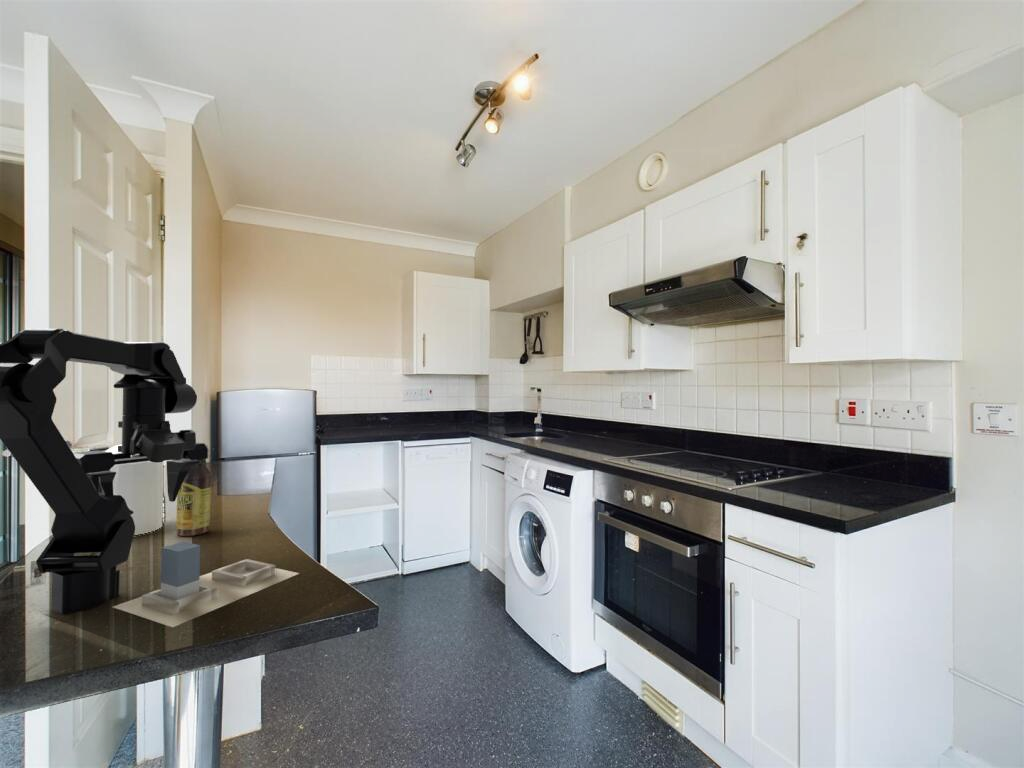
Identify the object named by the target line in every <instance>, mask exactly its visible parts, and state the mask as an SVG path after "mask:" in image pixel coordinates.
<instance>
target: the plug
mask: <svg viewBox="0 0 1024 768" xmlns="http://www.w3.org/2000/svg"><path fill="white" fill-rule="evenodd" d="M160 562H161V565H160V567H161V569H160V589H161V597H164V598H167V599H171V600H174V601H177V600H179V599H182V598H184V597H187V596H190V595H192V594H195V593H198V592H199V577H200V576H201V574H200V572H201V570H200V568H201V566H200V565H201V564H200V563H201V545H200V544H196V543H191V542H187V541H181V542H177V543H174V544H170V545H167V546H163V547H161V561H160Z"/></svg>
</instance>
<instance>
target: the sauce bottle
mask: <svg viewBox="0 0 1024 768" xmlns="http://www.w3.org/2000/svg"><path fill="white" fill-rule="evenodd" d="M205 445H206V446H207V447H208V444H205ZM206 460H207V459H199V460H197V461H201V463H200V464H196V465H195V466H194V467H193V468H191V469H190V470H189V472H188V473H187V475H186V477H185V479H184V481H183V483H182V486H181V488H180V490H179V493H178V495H177V497H176V521H175V522H176V523H175V527H176V535H177V536H178V537H179V536H180V537H182V536H183V537H192V536H198V535H202V534H206V533H207V532H208V531H209V529H210V528H209V525H210V523H211V521H210V519H211V500H212V497H211V496H212V485H211V483H212V475H211V471H210V470H209V468H208V467H207V461H206Z"/></svg>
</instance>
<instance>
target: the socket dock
mask: <svg viewBox="0 0 1024 768" xmlns="http://www.w3.org/2000/svg"><path fill="white" fill-rule="evenodd" d="M297 575H300V573H299V572H295V571H290V570H286V569H281V568H276V564H271V563H266V562H262V561H258V560H253V559H249V558H246V559H243V560H240V561H237V562H234V563H231V564H228V565H226V566H223V567H220V568H217V569H213V570H211V572H208V573H206V574H202V575H200V577H199V592H198V593H195V594H192V595H190V596H187V597H184V598H182V599H179V600H177V601H174V600H171V599H167V598H164V597H161V588H159V589H156V590H153V591H151V592H148V593H144V594H142V595H141V596H138V597H136V598H134V599H131V600H128V601H125V602H122V603H119V604H115V605H113V606H112V608H113V609H116V610H119V611H123V612H124V613H125V612H126V613H129V614H132V615H135V616H138V617H141V618H144V619H147V620H150V621H153V622H155V623H158V624H161V625H165V626H167V627H171V628H176V627H178V626H179V625H182V624H184V623H186V622H190V621H192V620H193V619H197V618H199V617H201V616H203V615H205V614H208V613H210V612H212V611H215V610H218V609H220V608H223V607H224V606H227V605H230V604H232V603H234V602H236V601H238V600H239V601H240V600H241V599H243V598H245V597H248V596H251V595H253V594H255V593H257V592H260V591H262V590H265V589H267V588H269V587H271V586H274V585H276V584H278V583H281V582H284V581H286V580H288V579H291V578H293V577H294V576H297Z"/></svg>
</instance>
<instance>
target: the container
mask: <svg viewBox="0 0 1024 768" xmlns="http://www.w3.org/2000/svg"><path fill="white" fill-rule="evenodd" d="M118 446H122V444H117V445H114V446H112V447H111V448H108V449H106V450H105V451H106V452H112V454H116V453H122V452H118ZM135 455H139V454H135ZM131 456H132V455H131ZM110 471H112V472H116V475H115V477H114V480H113V495H121V496H122V497H123V498H124V499H125V501H126V504H127V506H128V508H129V509H130V510H131V511H133V514H131V516H132V518H133V521H134V524H135V533H134V535H138V534H143V535H145V534H144V533H147V534H149V533H148V532H150V533H152V532H151V531H154V532H156V531H155V530H157V529H158V530H160V529H162V528H163V508H164V507H163V505H164V501H163V500H164V499H163V498H164V464H163V462H158V463H156V462H151V461H143V462H135V463H126V464H118V465H114V466H113V467H112V468H111V469H110ZM161 527H162V528H161ZM159 528H160V529H159ZM158 530H157V531H158Z"/></svg>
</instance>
